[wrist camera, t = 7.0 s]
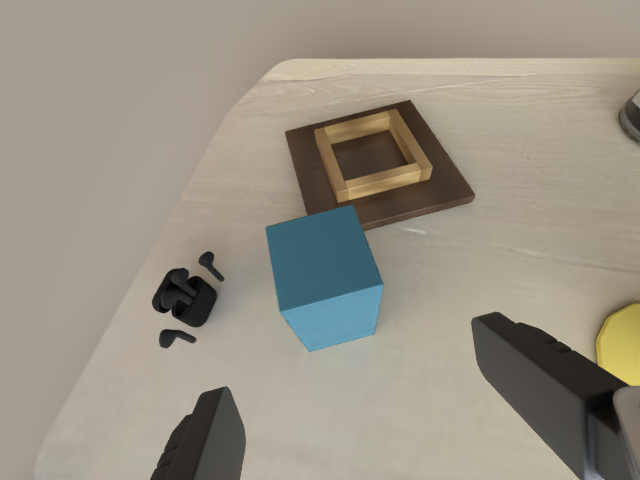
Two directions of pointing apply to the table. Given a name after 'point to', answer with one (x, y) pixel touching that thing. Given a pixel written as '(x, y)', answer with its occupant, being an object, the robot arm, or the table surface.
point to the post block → (325, 277)
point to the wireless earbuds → (186, 299)
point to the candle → (621, 345)
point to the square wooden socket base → (376, 166)
